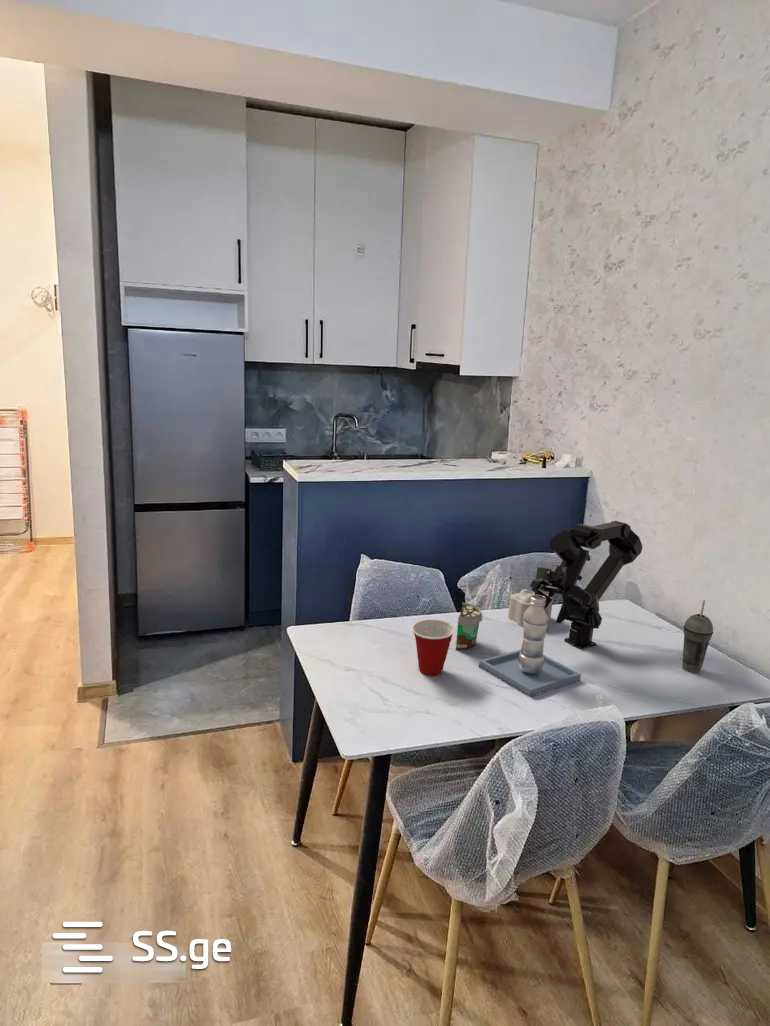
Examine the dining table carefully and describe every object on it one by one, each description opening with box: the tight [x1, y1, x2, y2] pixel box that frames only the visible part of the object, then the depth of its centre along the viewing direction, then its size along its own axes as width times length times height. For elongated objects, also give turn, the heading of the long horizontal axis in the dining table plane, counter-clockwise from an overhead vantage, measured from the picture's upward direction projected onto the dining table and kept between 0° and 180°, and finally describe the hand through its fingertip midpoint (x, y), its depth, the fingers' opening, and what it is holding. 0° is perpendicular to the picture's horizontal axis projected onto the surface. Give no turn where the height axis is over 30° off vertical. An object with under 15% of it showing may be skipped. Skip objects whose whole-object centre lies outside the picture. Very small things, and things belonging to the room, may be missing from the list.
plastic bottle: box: [518, 595, 550, 674], centre depth 176 cm, size 6×7×20 cm
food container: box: [455, 602, 483, 651], centre depth 192 cm, size 12×6×10 cm, turn 168°
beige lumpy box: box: [507, 588, 554, 627], centre depth 214 cm, size 10×13×9 cm
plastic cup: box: [411, 618, 456, 677], centre depth 174 cm, size 11×11×12 cm
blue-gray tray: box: [478, 648, 582, 698], centre depth 178 cm, size 18×18×2 cm
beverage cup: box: [681, 600, 714, 674], centre depth 184 cm, size 7×7×20 cm
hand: (546, 620), depth 184 cm, fingers open, 9 cm apart
